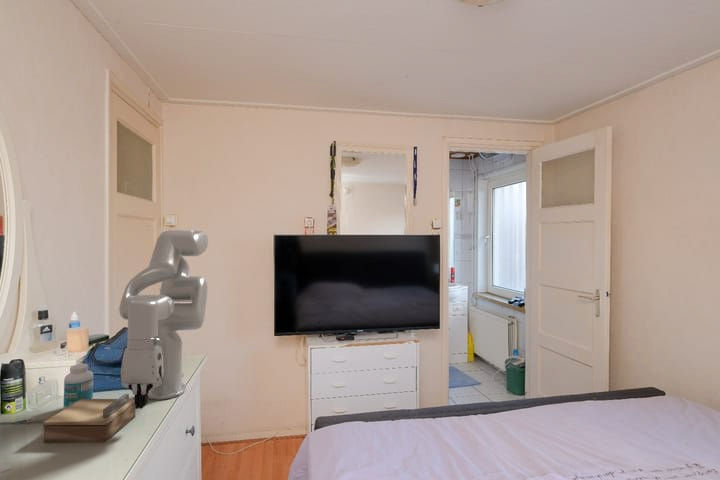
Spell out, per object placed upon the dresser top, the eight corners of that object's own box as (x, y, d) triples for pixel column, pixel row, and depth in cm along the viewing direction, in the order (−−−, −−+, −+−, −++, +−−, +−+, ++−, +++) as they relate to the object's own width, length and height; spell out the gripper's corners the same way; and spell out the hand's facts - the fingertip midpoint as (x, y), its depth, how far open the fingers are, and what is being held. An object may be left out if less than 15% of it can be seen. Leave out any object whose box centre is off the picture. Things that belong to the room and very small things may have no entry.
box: (81, 417, 112) (81, 402, 112) (135, 417, 113) (135, 402, 113) (43, 442, 98) (44, 426, 98) (105, 442, 99) (106, 426, 99)
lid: (81, 401, 112) (81, 390, 112) (135, 401, 113) (135, 391, 113) (44, 424, 98) (44, 412, 98) (106, 424, 99) (106, 413, 99)
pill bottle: (57, 411, 115) (58, 368, 115) (82, 401, 122) (82, 360, 122) (74, 415, 113) (75, 371, 113) (98, 405, 120) (99, 363, 120)
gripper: (175, 339, 110) (173, 401, 110) (123, 339, 109) (122, 400, 109) (163, 347, 102) (161, 412, 102) (107, 346, 102) (106, 412, 102)
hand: (141, 406), depth 106 cm, fingers closed
